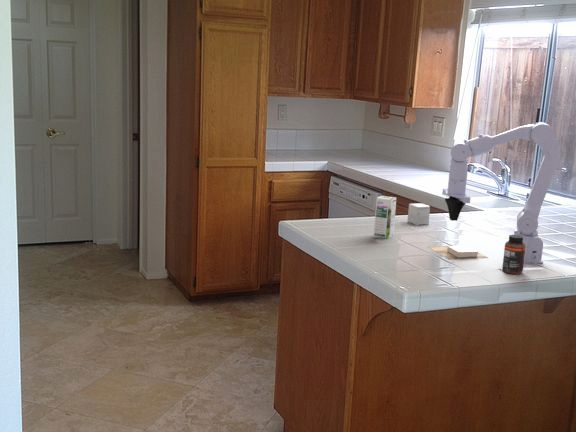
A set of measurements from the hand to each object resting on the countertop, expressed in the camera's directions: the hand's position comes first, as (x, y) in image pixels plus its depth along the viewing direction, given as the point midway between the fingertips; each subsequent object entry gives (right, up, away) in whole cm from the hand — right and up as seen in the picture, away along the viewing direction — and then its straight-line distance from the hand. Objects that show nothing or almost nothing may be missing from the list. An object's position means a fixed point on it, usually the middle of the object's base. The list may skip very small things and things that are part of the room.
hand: (453, 220), depth 221 cm
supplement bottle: (+13, -16, -19) cm, 28 cm away
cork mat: (+1, -11, -2) cm, 11 cm away
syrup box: (-21, -6, +16) cm, 27 cm away
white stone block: (-4, -2, +40) cm, 40 cm away
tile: (+1, -9, -2) cm, 10 cm away
